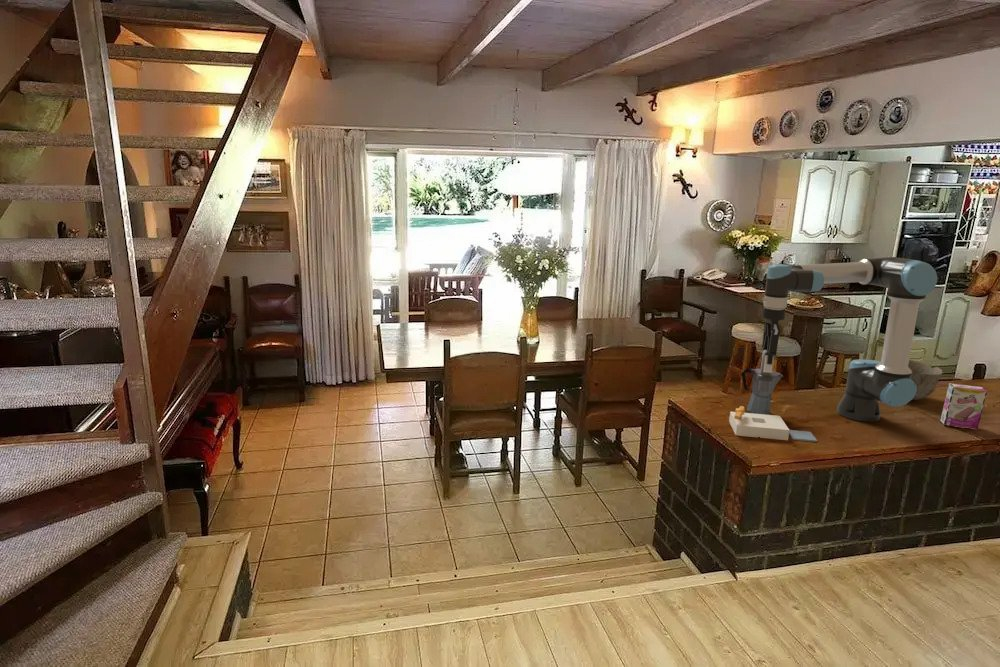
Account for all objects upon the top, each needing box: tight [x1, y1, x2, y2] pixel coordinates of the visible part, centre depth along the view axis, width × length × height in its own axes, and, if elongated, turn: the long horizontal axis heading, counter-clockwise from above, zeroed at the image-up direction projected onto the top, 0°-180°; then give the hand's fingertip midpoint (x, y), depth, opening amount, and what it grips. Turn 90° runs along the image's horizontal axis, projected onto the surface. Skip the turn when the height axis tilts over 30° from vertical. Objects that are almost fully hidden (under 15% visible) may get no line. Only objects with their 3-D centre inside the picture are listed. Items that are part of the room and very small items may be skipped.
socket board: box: [728, 411, 791, 441], centre depth 222 cm, size 18×14×6 cm
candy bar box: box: [939, 382, 988, 430], centre depth 229 cm, size 11×5×16 cm, turn 71°
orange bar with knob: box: [734, 405, 746, 420], centre depth 221 cm, size 12×3×1 cm, turn 149°
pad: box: [789, 429, 818, 443], centre depth 218 cm, size 8×8×1 cm
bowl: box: [908, 359, 944, 401], centre depth 260 cm, size 22×22×15 cm
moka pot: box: [741, 367, 784, 415], centre depth 238 cm, size 10×15×20 cm, turn 78°
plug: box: [757, 349, 774, 392], centre depth 217 cm, size 6×6×15 cm
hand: (766, 370), depth 217 cm, fingers closed on plug, 3 cm apart
